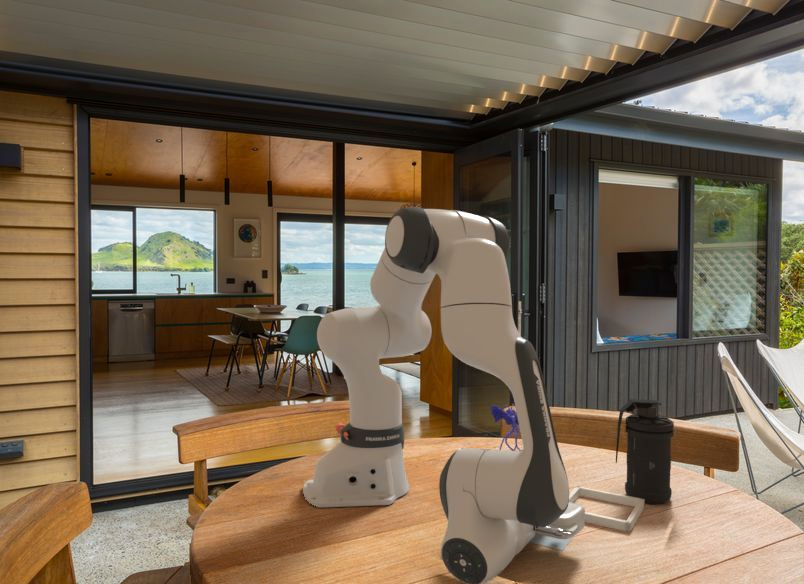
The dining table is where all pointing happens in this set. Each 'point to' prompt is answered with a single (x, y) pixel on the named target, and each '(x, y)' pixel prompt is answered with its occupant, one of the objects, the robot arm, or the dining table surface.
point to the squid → (507, 422)
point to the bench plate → (550, 541)
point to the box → (610, 497)
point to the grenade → (647, 451)
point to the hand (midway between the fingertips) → (536, 493)
